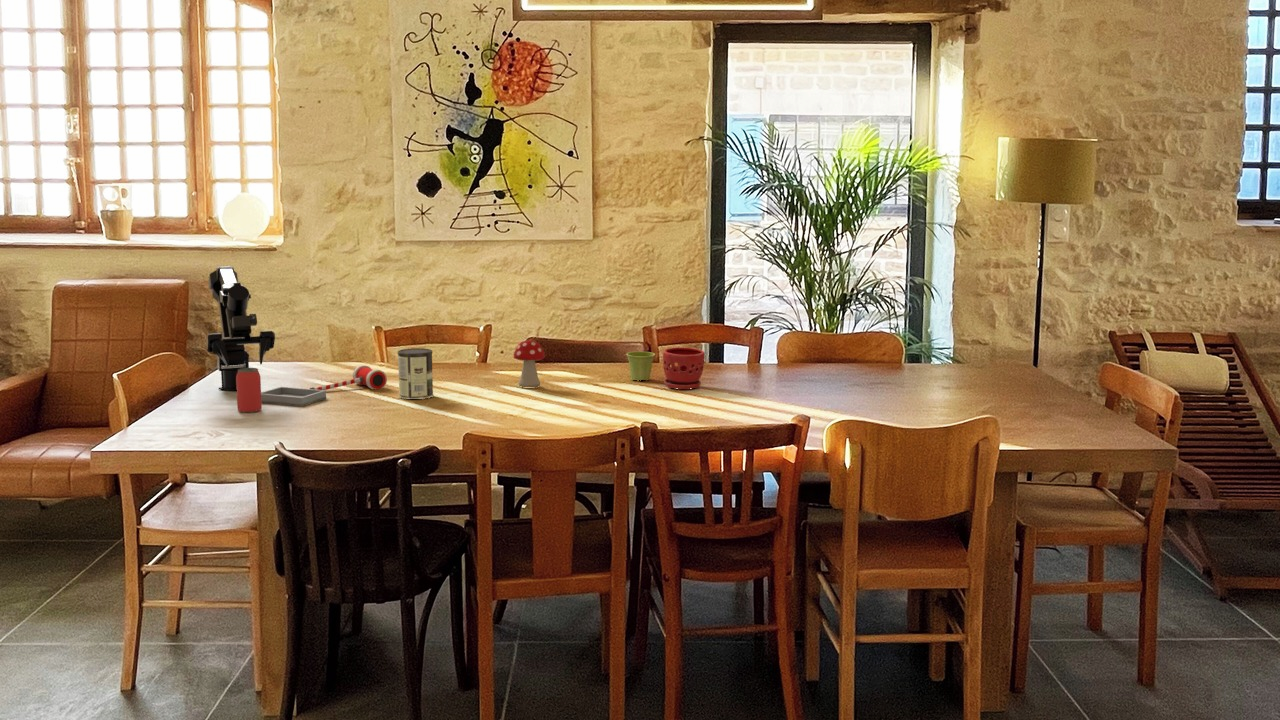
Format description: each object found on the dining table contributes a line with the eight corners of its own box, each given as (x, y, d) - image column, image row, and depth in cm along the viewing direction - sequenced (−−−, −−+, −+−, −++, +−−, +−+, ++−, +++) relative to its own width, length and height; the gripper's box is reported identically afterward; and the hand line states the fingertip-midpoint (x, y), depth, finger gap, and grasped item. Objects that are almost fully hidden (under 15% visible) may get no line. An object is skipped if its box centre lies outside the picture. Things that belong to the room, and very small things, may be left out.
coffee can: (419, 392, 394) (418, 346, 391) (440, 396, 387) (439, 350, 384) (391, 396, 386) (390, 350, 384) (412, 401, 379) (411, 354, 377)
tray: (256, 402, 377) (256, 393, 376) (281, 394, 388) (280, 386, 387) (302, 406, 371) (302, 397, 371) (326, 398, 382) (325, 390, 382)
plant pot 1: (660, 379, 418) (660, 353, 416) (644, 383, 410) (645, 357, 408) (636, 376, 423) (636, 350, 421) (620, 380, 415) (620, 354, 413)
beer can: (266, 409, 366) (264, 368, 364) (252, 414, 360) (250, 372, 358) (247, 407, 368) (245, 366, 366) (232, 412, 362) (230, 370, 360)
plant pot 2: (656, 389, 400) (656, 352, 398) (671, 382, 412) (671, 345, 410) (695, 393, 396) (696, 354, 394) (709, 385, 408) (710, 348, 406)
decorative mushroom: (547, 385, 406) (547, 338, 404) (542, 390, 398) (542, 342, 395) (516, 384, 407) (516, 337, 405) (511, 389, 399) (510, 341, 396)
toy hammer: (318, 397, 386) (317, 376, 385) (302, 391, 395) (302, 370, 394) (387, 389, 400) (387, 369, 399) (371, 383, 409) (370, 363, 408)
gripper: (205, 306, 366) (212, 349, 358) (272, 303, 374) (280, 345, 366) (204, 329, 375) (210, 373, 367) (269, 326, 382) (277, 368, 374)
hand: (244, 364), depth 368 cm, fingers open, 9 cm apart
